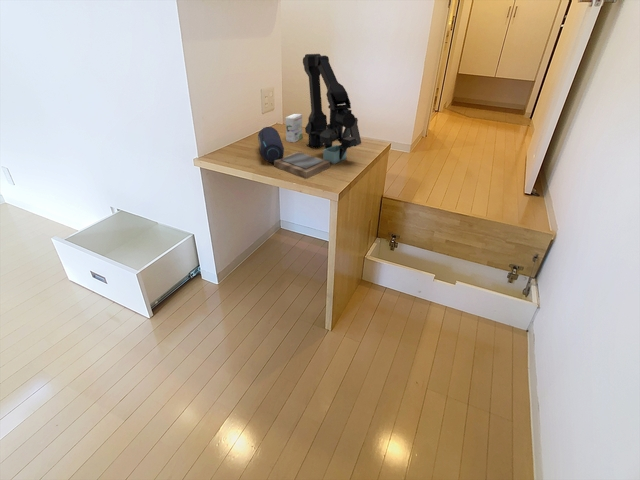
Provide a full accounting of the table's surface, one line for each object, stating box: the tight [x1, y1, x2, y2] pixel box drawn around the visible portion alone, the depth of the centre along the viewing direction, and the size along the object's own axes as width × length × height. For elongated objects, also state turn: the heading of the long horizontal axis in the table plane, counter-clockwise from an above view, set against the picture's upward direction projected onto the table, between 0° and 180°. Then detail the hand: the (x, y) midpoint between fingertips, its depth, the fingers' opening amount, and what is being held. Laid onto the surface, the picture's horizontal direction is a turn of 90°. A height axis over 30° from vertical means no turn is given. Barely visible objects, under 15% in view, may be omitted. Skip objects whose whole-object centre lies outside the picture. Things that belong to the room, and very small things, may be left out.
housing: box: [322, 144, 348, 165], centre depth 156 cm, size 6×10×5 cm, turn 140°
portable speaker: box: [257, 126, 285, 163], centre depth 157 cm, size 25×10×10 cm, turn 12°
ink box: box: [284, 113, 303, 143], centre depth 176 cm, size 8×5×12 cm, turn 153°
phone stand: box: [339, 117, 362, 147], centre depth 173 cm, size 9×6×12 cm, turn 55°
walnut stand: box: [273, 151, 331, 179], centre depth 149 cm, size 18×15×3 cm
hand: (334, 157), depth 156 cm, fingers closed on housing, 6 cm apart
